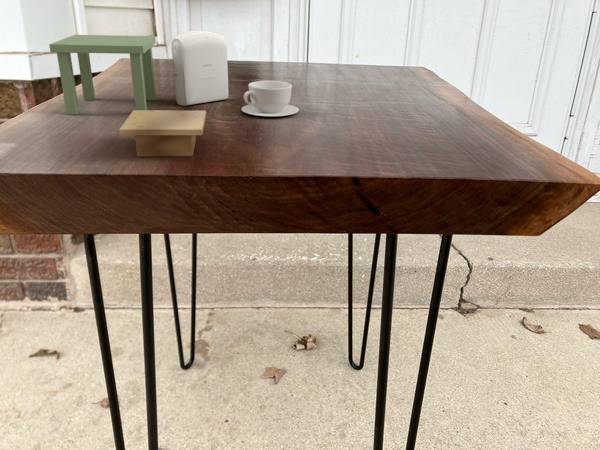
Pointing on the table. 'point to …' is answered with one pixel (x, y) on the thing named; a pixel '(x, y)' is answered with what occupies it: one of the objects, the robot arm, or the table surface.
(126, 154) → the table surface
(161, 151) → the low shelf
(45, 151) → the table surface
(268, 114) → the teacup
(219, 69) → the photo printer
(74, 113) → the high shelf
